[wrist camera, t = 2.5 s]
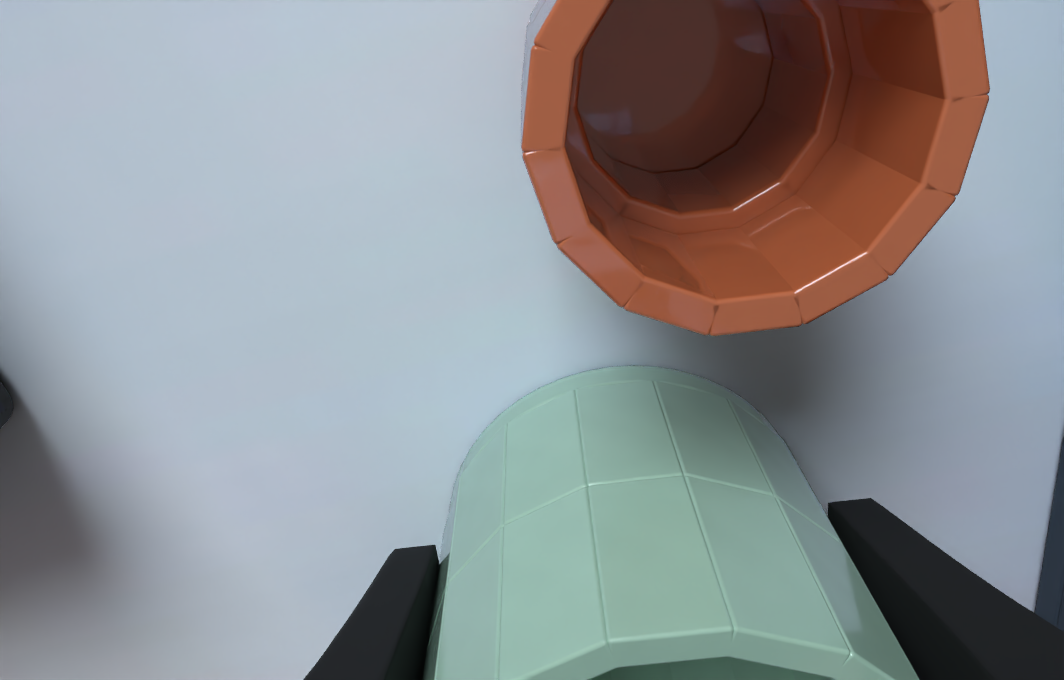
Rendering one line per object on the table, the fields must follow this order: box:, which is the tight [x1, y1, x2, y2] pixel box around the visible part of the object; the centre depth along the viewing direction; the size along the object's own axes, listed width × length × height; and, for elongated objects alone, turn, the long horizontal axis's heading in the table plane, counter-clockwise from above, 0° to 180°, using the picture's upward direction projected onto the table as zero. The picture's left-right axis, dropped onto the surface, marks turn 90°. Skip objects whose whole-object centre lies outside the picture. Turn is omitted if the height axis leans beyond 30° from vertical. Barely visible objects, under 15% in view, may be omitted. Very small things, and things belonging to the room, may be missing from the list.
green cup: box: [423, 365, 920, 680], centre depth 11 cm, size 6×6×6 cm
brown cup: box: [521, 0, 990, 336], centre depth 8 cm, size 4×4×4 cm
